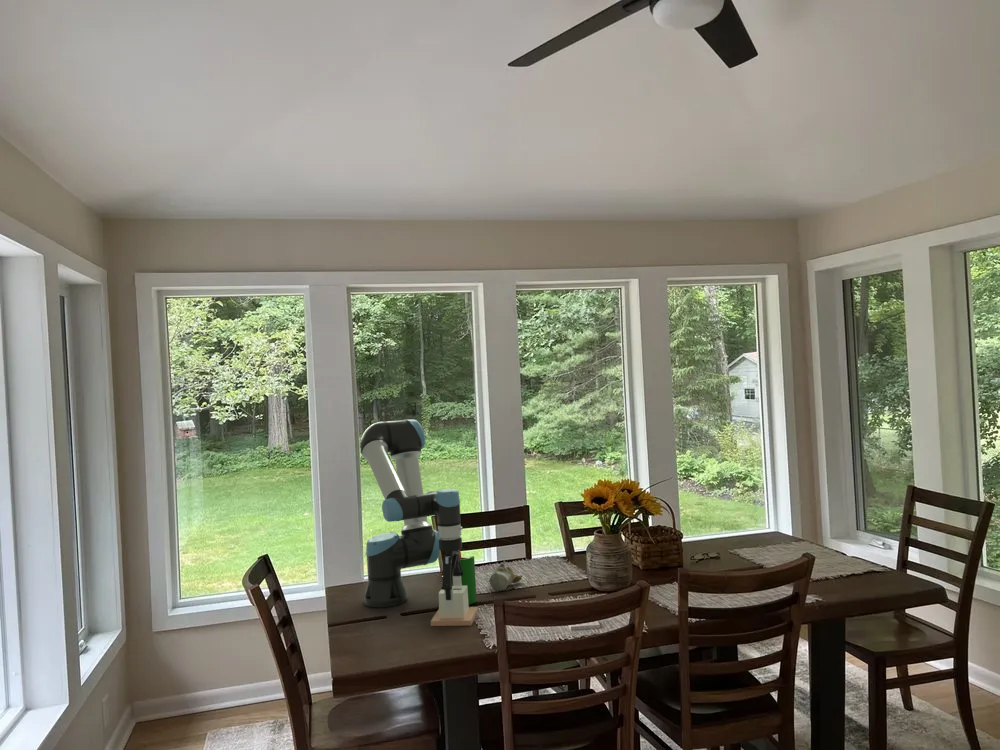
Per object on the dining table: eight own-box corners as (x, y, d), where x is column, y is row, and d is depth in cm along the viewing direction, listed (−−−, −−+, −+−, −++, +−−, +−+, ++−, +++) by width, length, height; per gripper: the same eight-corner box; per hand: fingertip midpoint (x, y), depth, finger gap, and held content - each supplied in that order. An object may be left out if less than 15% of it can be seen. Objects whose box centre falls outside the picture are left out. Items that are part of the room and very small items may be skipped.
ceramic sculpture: (481, 567, 260) (497, 559, 274) (482, 591, 259) (497, 581, 273) (509, 569, 256) (523, 560, 270) (509, 593, 255) (524, 583, 269)
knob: (439, 618, 229) (438, 592, 229) (445, 609, 237) (443, 585, 237) (464, 618, 228) (462, 592, 228) (468, 609, 236) (467, 584, 236)
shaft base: (430, 625, 227) (429, 605, 227) (439, 611, 240) (438, 592, 240) (471, 625, 225) (469, 604, 225) (478, 611, 238) (476, 591, 238)
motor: (479, 598, 252) (476, 541, 252) (470, 606, 244) (467, 548, 244) (453, 596, 256) (450, 541, 255) (443, 605, 247) (439, 547, 247)
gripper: (453, 546, 220) (457, 615, 220) (468, 528, 244) (472, 590, 244) (429, 547, 221) (434, 615, 221) (446, 529, 245) (450, 590, 246)
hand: (454, 602), depth 233 cm, fingers open, 13 cm apart
